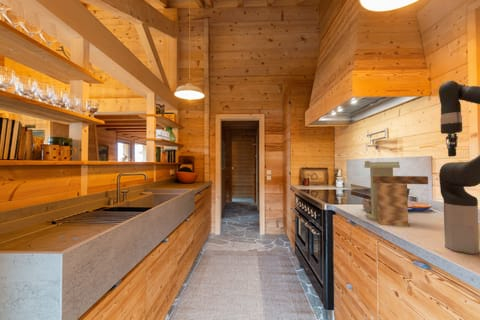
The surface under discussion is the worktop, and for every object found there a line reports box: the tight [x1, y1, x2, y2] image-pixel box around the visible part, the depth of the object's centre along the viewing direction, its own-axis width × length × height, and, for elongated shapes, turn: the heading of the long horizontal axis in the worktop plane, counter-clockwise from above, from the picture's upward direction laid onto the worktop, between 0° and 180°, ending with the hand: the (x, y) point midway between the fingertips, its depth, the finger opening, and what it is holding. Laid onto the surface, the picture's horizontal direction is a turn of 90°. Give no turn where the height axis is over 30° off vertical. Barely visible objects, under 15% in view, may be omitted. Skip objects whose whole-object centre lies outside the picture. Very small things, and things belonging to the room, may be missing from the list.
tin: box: [362, 198, 371, 214], centre depth 147 cm, size 15×3×8 cm, turn 168°
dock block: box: [376, 183, 410, 228], centre depth 118 cm, size 13×9×22 cm, turn 69°
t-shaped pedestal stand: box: [364, 160, 400, 222], centre depth 128 cm, size 16×10×34 cm, turn 69°
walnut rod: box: [373, 175, 429, 185], centre depth 117 cm, size 24×4×4 cm, turn 69°
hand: (452, 156), depth 104 cm, fingers open, 8 cm apart
